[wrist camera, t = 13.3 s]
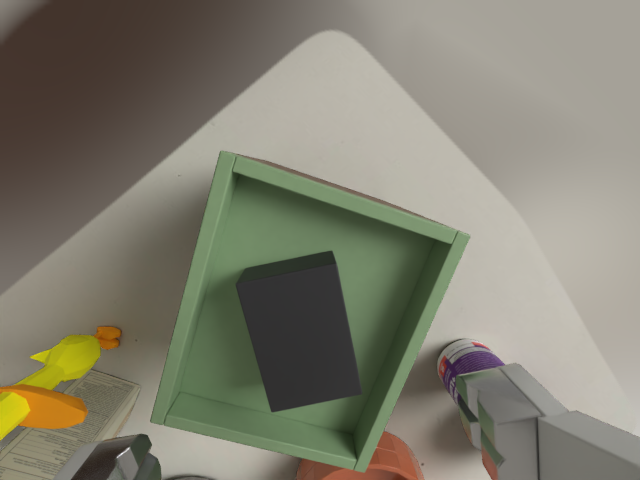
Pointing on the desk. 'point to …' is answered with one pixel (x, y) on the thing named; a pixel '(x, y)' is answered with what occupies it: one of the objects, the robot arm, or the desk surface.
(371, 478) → the bowl
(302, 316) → the block
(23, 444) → the box
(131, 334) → the desk surface
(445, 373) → the pill bottle
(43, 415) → the toy figure
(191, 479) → the dish
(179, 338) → the tray
